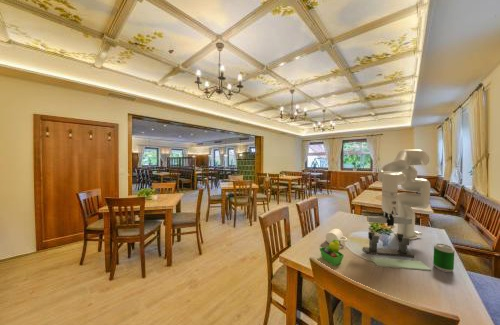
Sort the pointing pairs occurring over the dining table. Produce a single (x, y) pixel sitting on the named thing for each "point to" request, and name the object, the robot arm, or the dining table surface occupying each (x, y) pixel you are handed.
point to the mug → (335, 236)
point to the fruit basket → (332, 253)
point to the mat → (400, 263)
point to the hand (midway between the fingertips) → (388, 224)
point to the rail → (384, 219)
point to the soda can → (443, 257)
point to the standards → (391, 252)
